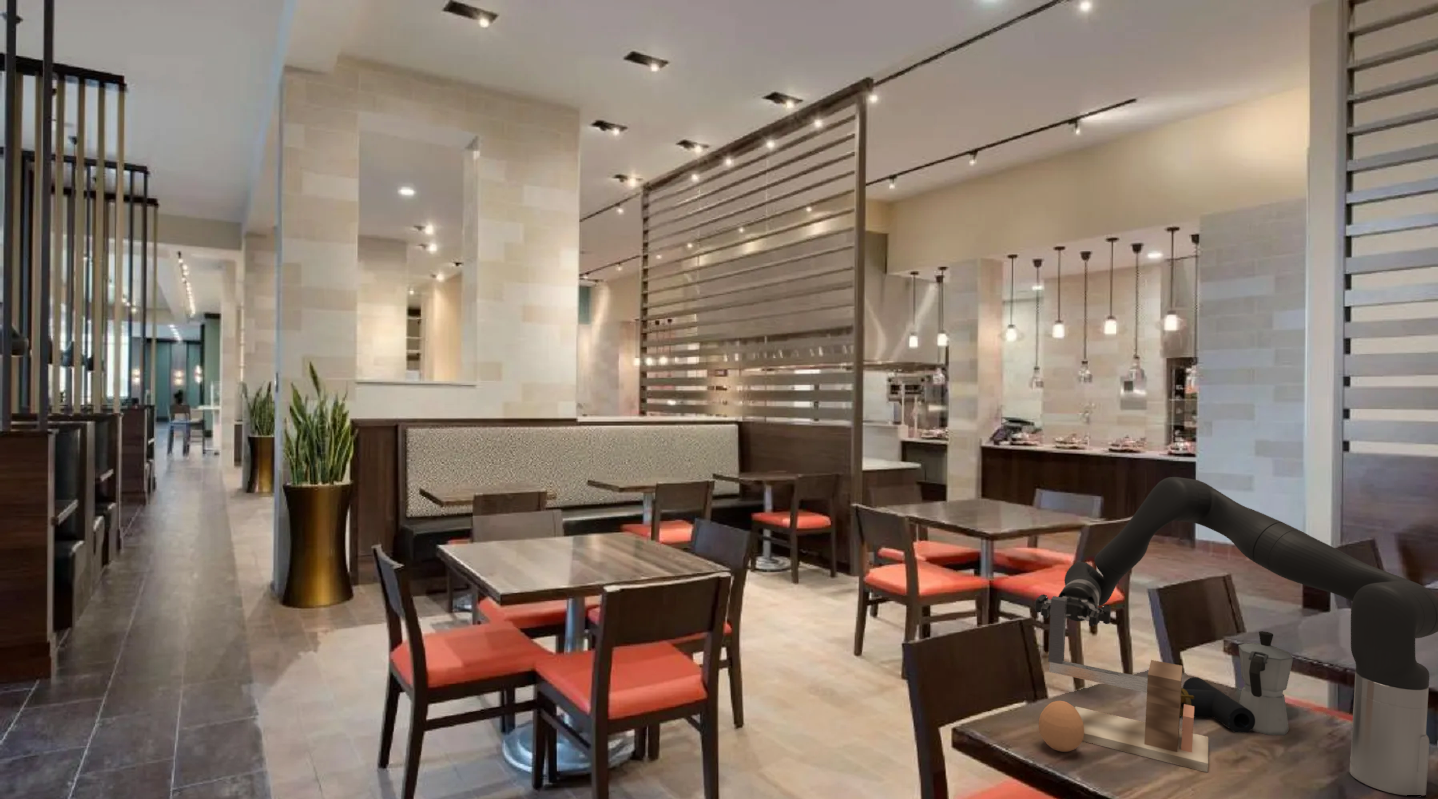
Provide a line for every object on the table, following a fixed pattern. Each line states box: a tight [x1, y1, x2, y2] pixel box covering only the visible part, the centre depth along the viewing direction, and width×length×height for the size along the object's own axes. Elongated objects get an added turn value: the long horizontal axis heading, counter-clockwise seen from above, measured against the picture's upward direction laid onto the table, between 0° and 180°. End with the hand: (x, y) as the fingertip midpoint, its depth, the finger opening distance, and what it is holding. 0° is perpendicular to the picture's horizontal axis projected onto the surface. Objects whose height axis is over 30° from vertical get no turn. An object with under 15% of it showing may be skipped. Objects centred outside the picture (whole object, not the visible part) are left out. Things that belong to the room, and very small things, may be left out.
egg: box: [1038, 700, 1084, 753], centre depth 138 cm, size 7×7×8 cm
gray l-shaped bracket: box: [1047, 595, 1148, 694], centre depth 145 cm, size 19×2×14 cm, turn 58°
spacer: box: [1181, 704, 1195, 752], centre depth 139 cm, size 2×6×6 cm, turn 148°
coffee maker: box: [1237, 630, 1294, 736], centre depth 150 cm, size 15×9×18 cm, turn 134°
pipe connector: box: [1180, 676, 1255, 734], centre depth 155 cm, size 12×5×15 cm
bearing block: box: [1074, 659, 1209, 773], centre depth 143 cm, size 22×12×14 cm, turn 58°
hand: (1068, 617), depth 159 cm, fingers open, 8 cm apart
